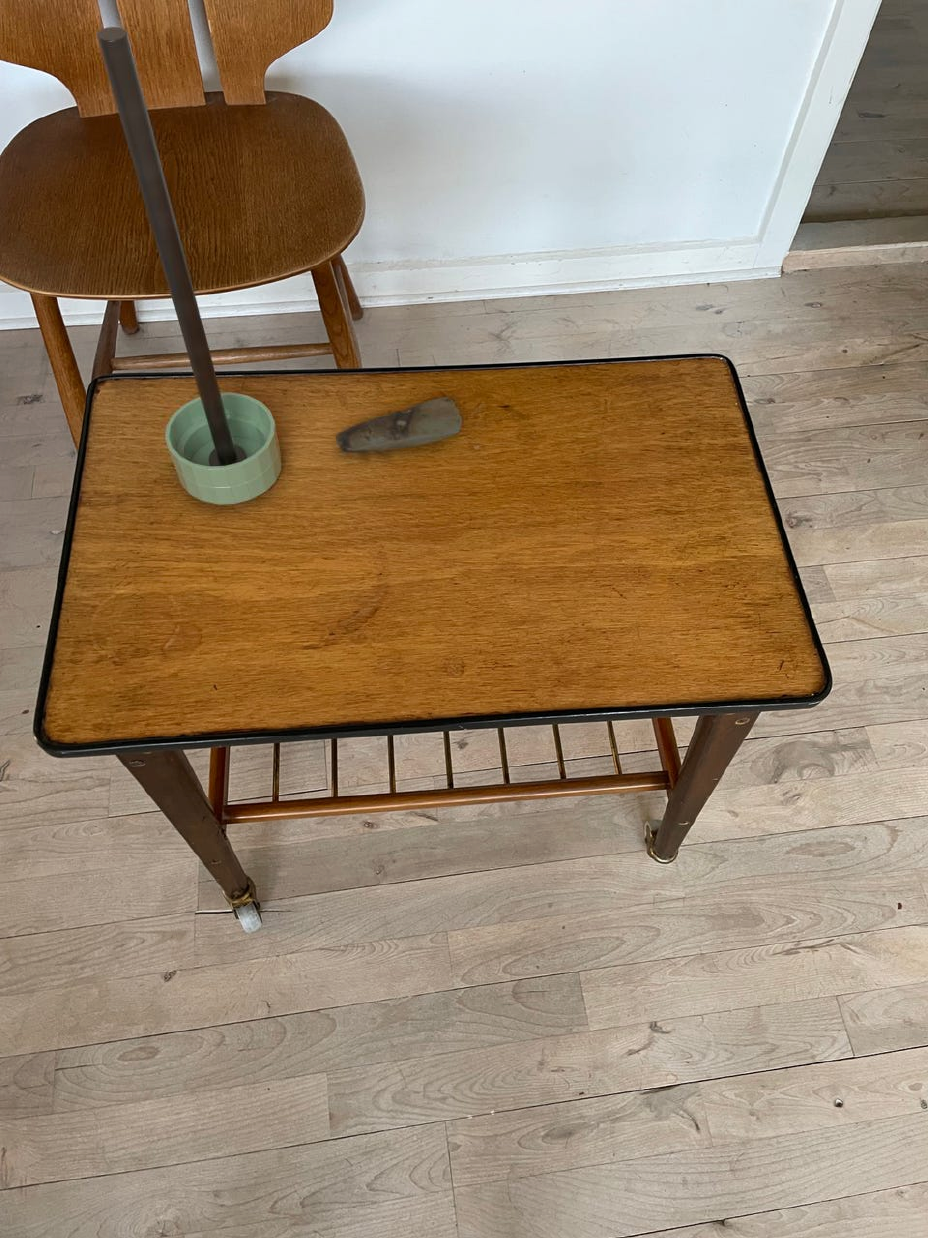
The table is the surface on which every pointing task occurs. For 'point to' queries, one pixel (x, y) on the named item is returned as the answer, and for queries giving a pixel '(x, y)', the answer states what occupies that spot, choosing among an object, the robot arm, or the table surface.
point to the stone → (404, 428)
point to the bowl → (247, 430)
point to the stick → (166, 234)
